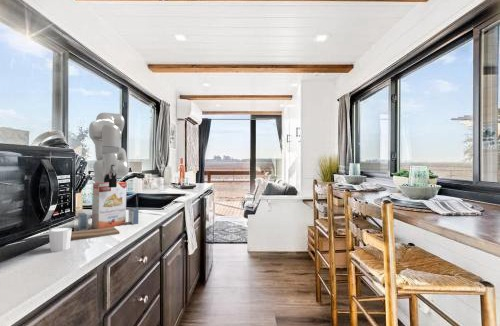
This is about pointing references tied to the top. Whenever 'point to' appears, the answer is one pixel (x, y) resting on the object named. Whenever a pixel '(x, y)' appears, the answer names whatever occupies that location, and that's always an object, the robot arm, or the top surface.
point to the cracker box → (108, 205)
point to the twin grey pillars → (84, 219)
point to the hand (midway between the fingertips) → (110, 186)
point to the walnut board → (93, 233)
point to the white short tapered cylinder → (60, 239)
